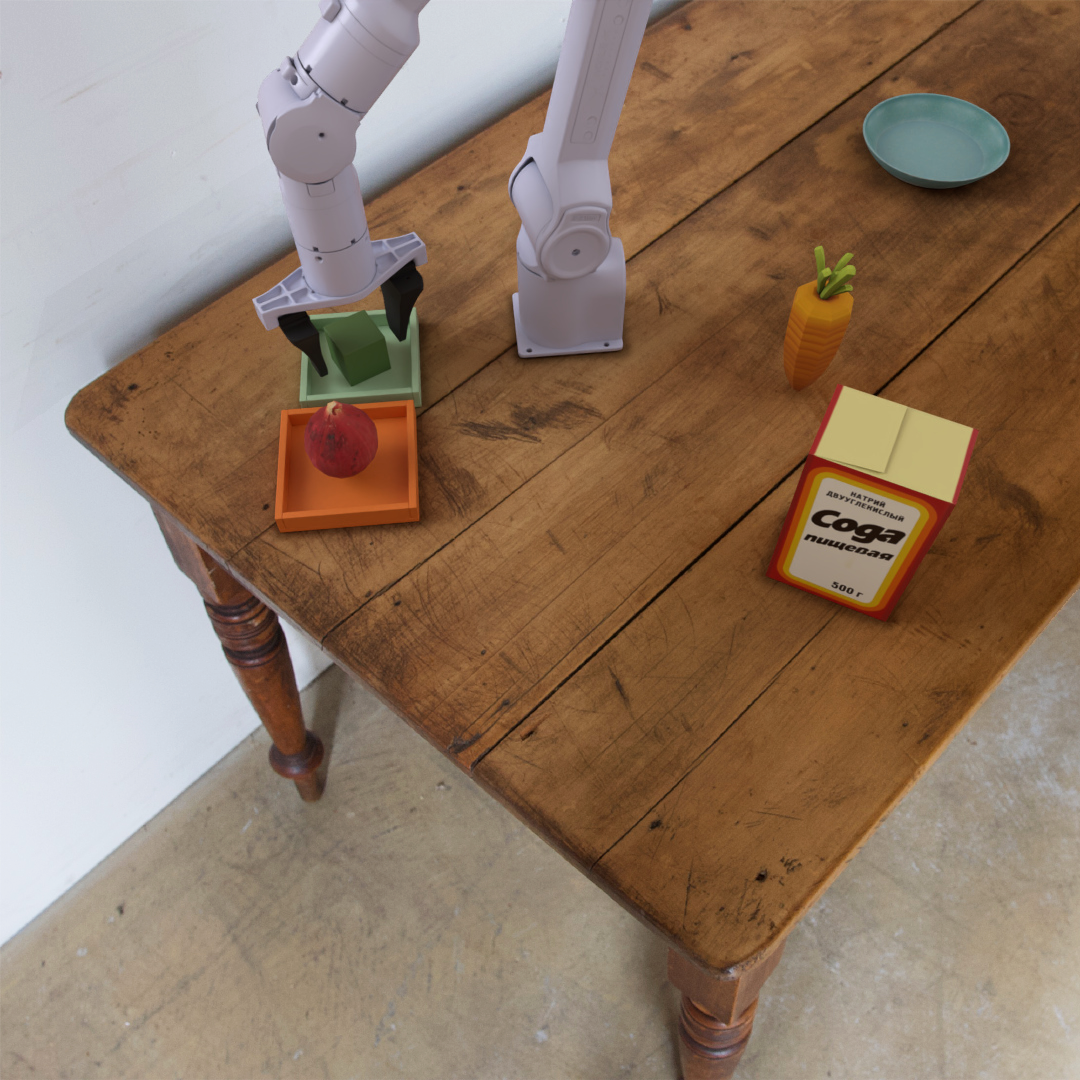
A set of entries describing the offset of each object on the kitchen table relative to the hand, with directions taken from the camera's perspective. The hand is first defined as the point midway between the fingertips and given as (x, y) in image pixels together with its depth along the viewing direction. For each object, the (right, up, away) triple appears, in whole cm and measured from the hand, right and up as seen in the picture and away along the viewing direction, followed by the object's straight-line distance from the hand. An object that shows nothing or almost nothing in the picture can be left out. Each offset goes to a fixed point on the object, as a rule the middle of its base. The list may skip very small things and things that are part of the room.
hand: (359, 351), depth 87 cm
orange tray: (0, -11, -4) cm, 12 cm away
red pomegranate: (0, -11, -5) cm, 12 cm away
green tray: (0, -1, +2) cm, 2 cm away
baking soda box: (+39, -19, -10) cm, 44 cm away
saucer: (+57, +23, +17) cm, 63 cm away
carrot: (+38, -4, 0) cm, 39 cm away
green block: (0, -1, +1) cm, 2 cm away
